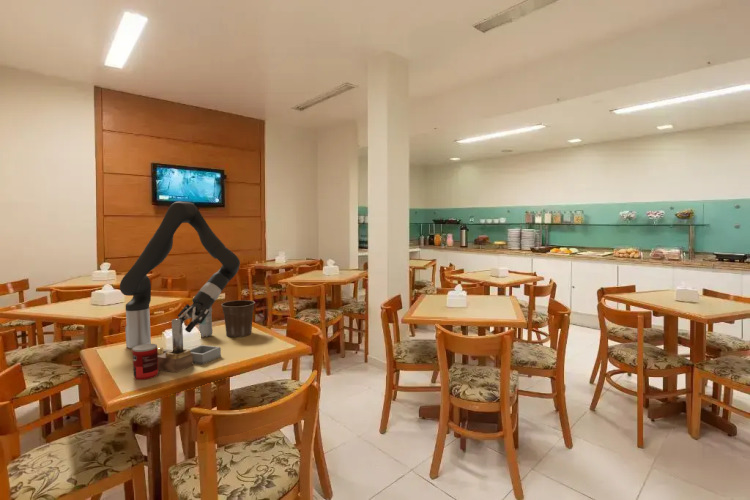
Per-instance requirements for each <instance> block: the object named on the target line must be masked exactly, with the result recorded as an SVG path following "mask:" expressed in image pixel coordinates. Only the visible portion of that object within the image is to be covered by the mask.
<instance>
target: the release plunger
mask: <svg viewBox="0 0 750 500" xmlns="http://www.w3.org/2000/svg"><path fill="white" fill-rule="evenodd" d="M163 349H164V347H157V352H158V355H160V354H163Z"/></svg>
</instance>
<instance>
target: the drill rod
mask: <svg viewBox="0 0 750 500" xmlns="http://www.w3.org/2000/svg"><path fill="white" fill-rule="evenodd" d="M183 333H184V332H183V324H182V319H179V318H173V319H171V334H172V335H171V338H172V340H171V341H172V350H173V353H175V354H179V353H182V352H183V349H184V335H183Z"/></svg>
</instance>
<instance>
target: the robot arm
mask: <svg viewBox="0 0 750 500" xmlns="http://www.w3.org/2000/svg"><path fill="white" fill-rule="evenodd" d="M187 223H188V225H190V226H191V227H192V228H193V229H194V230H195V232H196V233H197V235H198V237H199V241H200V244H201V245H202V246H203V248H204V249H205V250H206V251H207V253H208V254H209V256H211V257H212V258H213V259H216V260H218V261H219V262H220V263H221V266H220V268H219V270H217V271H216V272H214V273H213V274H212V275H211V276H210V278H209V279H208V280H207V281H206V282H205V284H203V286H202V287H201V288H200V289H199V290H198V292H197V293H196V294H195V296H194V297H193V298H192V304H191V305H189V304H185V306H184V307H183V308H182V309H181V310H180V312H179V313H178V314H177V317H178V319H182V325H183V324H184V323H185V321H187V320H190V319H191V321H190V322H189V323H188V324H187V326H185V328H184V330H185V332H186V333H191V332H192V330H193V329H194V328H195V327H196V325H199V324H201V323H202V322H203V320H204V319H205V318H206V316H207V315H208V313H209V309H210V307H211V306H213V305H214V303H215V302H216V301H217V300H218V298H219V296H220V295H221V293H222V292H223V290H224V289H225V288H226V286H227V285H228V284H229V282H230V281H231V280H233V278H234V277H235V276H236V275H237V274H238V272H239V270H240V265H241V261H240V258H239V257H238V256H237V255H236V254H235V253H234V252H233V251H232V250H231V249H229V248H228V247H226V245H225V244H224V243H223V242H222V240H220V239H219V237H218V236H217V235H216V234H215V232H214V231H213V230H212V228H211V227H210V225H209V224H208V223H207V221H206V219H205V218H204V216H203V215H202V213H201V212H200V210H199V208H198V207H197V205H196V204H194V203H192V202H189V201H175V202H173V203H172V204H170V205H169V206H168V209H167V211H166V213H165V214H164V216H163V219H162V221H161V223H160V224H159V226H158V227H157V229H156V231H155V233H154V234H153V236H152V237H151V238H150V240H149V241H148V243H147V244H146V246H145V247H144V249H143V251H142V252H141V254H139V256H138V258H137V259H136V261H135V262H134V264H133V265H132V266H131V268H130V269H129V270H128V271H127V273H126V274H125V275H124V276H123V277H122V279H121V280H120V283H119V290H120V292H121V294H123V295H124V296H129V297H130V296H132V297H131V299H130V300H129V301H128V302H127V303H126V304H125V320H126V321H125V322H126V323H125V324H126V326H125V327H124V328H125V329H124V331H125V346H126V347H127V348H129V349H132V350H133V348H134V347H135V346H138V345H143V344H152V339H151V338H152V336H151V335H152V333H151V320H150V319H151V315H150V303H151V300H152V299H151V298H152V284H151V283H152V282H151V279H150V278H149V275H148V274H149V273H150V272H151V271H153V270H154V269H155V268H157V267H158V266H159V265H160V264H162V262H164V261H165V259H166V258H167V257H168V255H169V254H170V252H171V250H172V249H173V246H174V235H175V233H176V231H177V230H178V228H179V227H180V226H181V225H182V224H187ZM201 317H202V319H201ZM200 319H201V320H200Z"/></svg>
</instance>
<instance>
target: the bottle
mask: <svg viewBox="0 0 750 500" xmlns="http://www.w3.org/2000/svg"><path fill="white" fill-rule="evenodd" d="M212 306H213V305H212ZM212 306H211V307H210V309H209V313H208V315H207V316H206V318H205V319H204V320H203V322H202V323H201V324H199V323H198V332H199V331H200V333H201V336H202V337H201V338H208V337H211V336H212V335H213V324H212V323H213V322H212V321H213V320H212V318H213V317H212V312H213V307H212ZM201 319H202V317H201ZM201 319H200V320H201Z"/></svg>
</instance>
